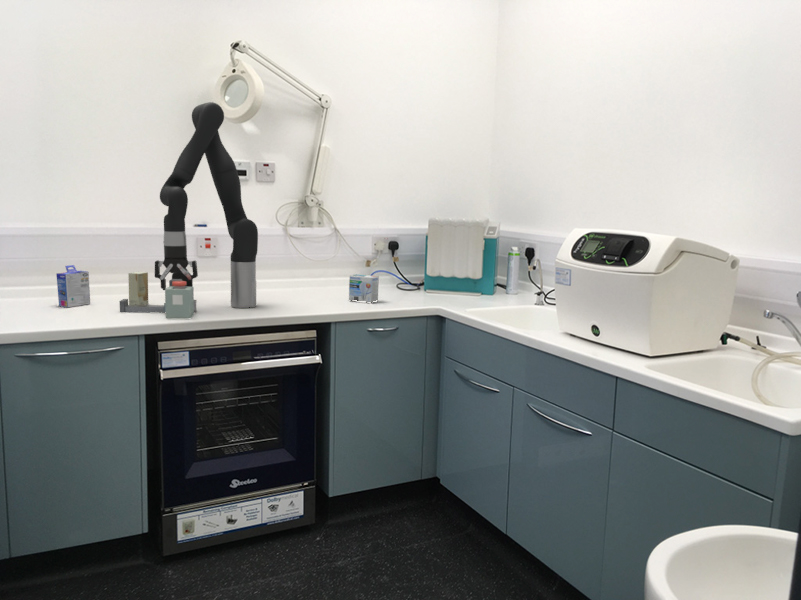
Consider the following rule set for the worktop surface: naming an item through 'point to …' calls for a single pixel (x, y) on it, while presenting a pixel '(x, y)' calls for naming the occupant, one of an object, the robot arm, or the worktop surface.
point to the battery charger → (180, 277)
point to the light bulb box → (363, 288)
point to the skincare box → (138, 288)
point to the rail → (143, 307)
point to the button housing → (179, 302)
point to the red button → (179, 284)
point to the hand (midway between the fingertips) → (176, 289)
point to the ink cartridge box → (73, 287)
